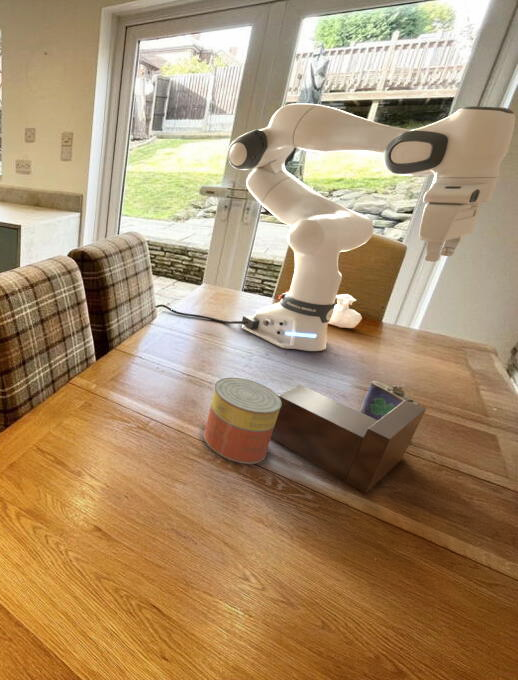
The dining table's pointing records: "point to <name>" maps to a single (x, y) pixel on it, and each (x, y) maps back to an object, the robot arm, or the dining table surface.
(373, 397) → the flask
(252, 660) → the dining table surface
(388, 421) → the l-shaped brown block
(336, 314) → the white tied sack
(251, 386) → the canned food
